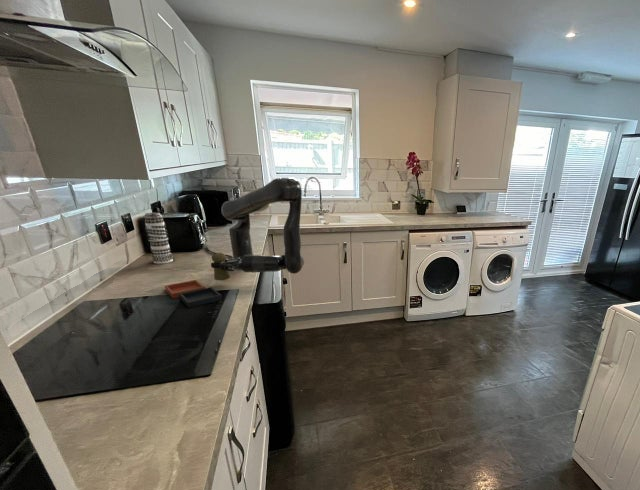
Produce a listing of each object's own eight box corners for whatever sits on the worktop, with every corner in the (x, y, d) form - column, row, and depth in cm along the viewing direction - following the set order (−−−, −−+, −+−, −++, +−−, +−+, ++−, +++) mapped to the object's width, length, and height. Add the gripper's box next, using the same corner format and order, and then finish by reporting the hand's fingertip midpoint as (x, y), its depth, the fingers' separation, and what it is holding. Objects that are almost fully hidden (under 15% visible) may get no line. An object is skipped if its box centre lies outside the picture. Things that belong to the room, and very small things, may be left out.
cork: (211, 278, 139) (206, 254, 135) (224, 274, 144) (220, 250, 140) (220, 281, 136) (215, 256, 133) (233, 277, 141) (229, 253, 138)
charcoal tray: (180, 298, 126) (179, 293, 126) (212, 291, 134) (211, 286, 134) (188, 307, 119) (187, 302, 118) (222, 299, 127) (221, 294, 126)
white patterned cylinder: (177, 258, 174) (167, 212, 165) (167, 264, 165) (156, 214, 156) (159, 258, 173) (149, 211, 164) (148, 263, 164) (136, 214, 156)
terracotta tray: (165, 290, 133) (164, 285, 133) (197, 283, 141) (196, 279, 141) (173, 298, 126) (172, 293, 125) (205, 291, 134) (205, 286, 133)
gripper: (259, 251, 145) (218, 250, 143) (249, 260, 132) (204, 260, 130) (261, 266, 148) (221, 266, 146) (251, 277, 135) (208, 277, 132)
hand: (213, 263), depth 138 cm, fingers closed on cork, 4 cm apart
